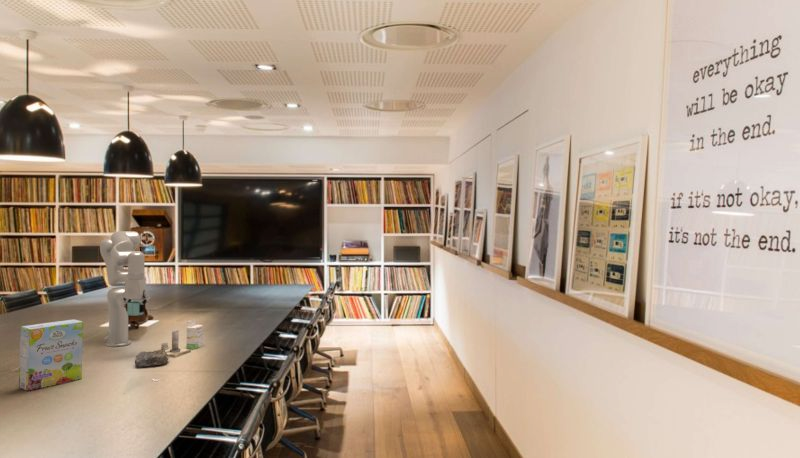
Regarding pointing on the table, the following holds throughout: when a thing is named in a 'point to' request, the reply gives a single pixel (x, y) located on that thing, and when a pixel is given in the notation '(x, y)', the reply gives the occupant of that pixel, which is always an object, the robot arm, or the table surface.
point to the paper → (156, 379)
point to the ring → (133, 308)
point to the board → (182, 351)
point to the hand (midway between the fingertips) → (135, 311)
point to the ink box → (194, 335)
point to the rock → (151, 358)
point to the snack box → (50, 354)
